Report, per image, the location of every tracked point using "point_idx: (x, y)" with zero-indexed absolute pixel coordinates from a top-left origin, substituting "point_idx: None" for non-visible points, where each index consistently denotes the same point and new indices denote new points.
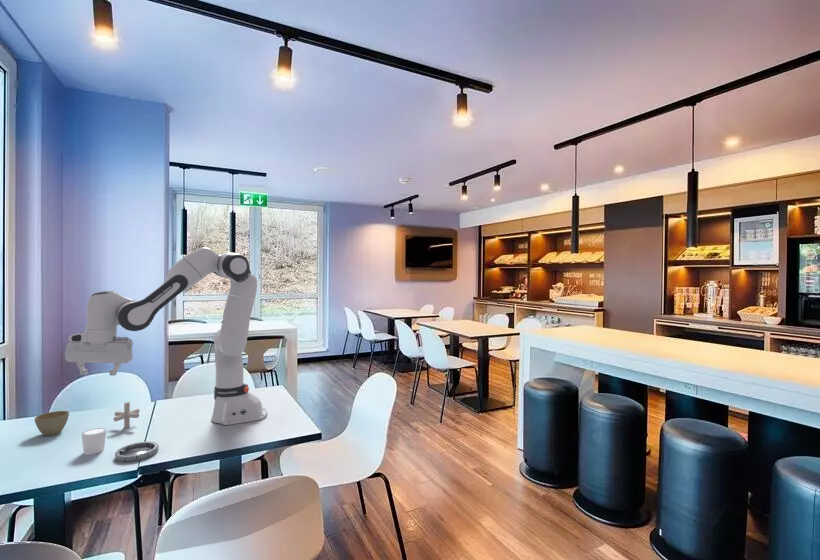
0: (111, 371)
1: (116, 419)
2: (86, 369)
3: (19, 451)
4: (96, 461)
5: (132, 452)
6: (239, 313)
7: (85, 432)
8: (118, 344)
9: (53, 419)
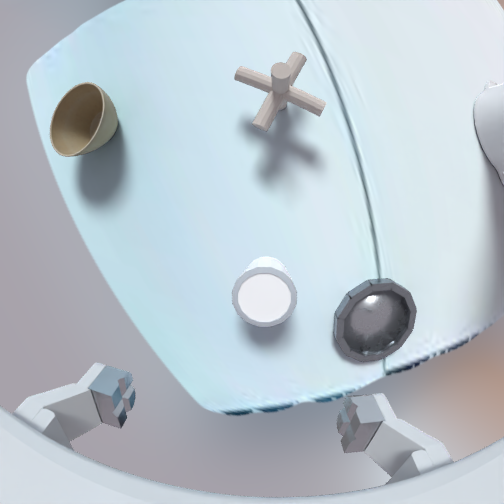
0: (357, 447)
1: (263, 129)
2: (114, 410)
3: (98, 234)
4: (298, 339)
5: (366, 319)
6: None
7: (240, 298)
8: None
9: (88, 147)
